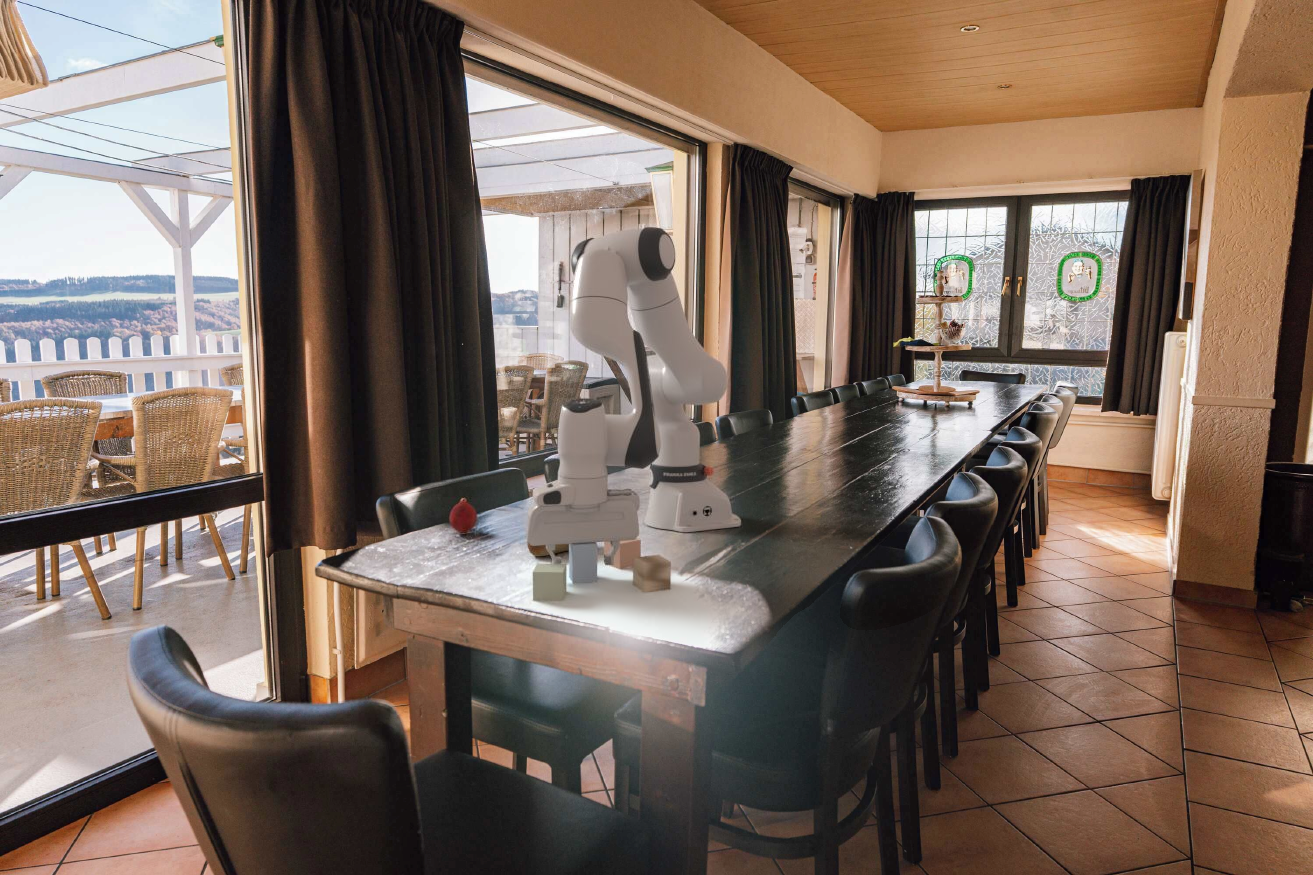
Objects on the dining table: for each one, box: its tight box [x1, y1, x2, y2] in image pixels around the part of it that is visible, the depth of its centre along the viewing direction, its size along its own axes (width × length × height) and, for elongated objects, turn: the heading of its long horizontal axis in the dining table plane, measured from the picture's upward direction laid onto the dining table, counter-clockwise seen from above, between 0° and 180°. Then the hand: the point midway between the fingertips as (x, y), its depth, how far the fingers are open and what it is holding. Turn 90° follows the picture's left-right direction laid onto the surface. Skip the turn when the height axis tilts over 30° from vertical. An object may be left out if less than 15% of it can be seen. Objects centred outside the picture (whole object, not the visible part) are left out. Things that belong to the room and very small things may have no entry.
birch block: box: [632, 554, 672, 594], centre depth 145 cm, size 5×5×5 cm
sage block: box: [532, 563, 567, 602], centre depth 140 cm, size 5×5×5 cm
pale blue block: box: [568, 542, 598, 585], centre depth 149 cm, size 4×4×7 cm
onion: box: [448, 497, 478, 534], centre depth 181 cm, size 6×6×8 cm
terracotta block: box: [603, 537, 642, 570], centre depth 159 cm, size 5×5×5 cm
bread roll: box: [526, 540, 569, 557], centre depth 168 cm, size 10×15×8 cm, turn 143°
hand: (583, 566), depth 149 cm, fingers open, 8 cm apart
